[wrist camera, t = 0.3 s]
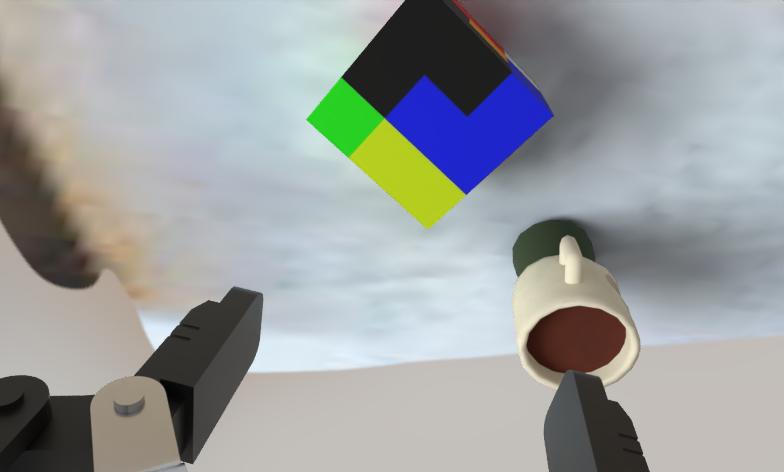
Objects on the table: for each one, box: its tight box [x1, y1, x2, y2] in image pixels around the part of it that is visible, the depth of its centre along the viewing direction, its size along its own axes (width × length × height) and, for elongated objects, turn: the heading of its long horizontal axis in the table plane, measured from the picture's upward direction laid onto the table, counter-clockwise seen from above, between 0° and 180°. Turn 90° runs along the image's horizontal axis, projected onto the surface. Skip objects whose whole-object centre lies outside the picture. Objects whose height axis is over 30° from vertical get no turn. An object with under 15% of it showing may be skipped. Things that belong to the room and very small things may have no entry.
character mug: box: [512, 220, 640, 390], centre depth 37 cm, size 11×7×13 cm, turn 7°
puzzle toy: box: [306, 0, 554, 229], centre depth 34 cm, size 10×10×10 cm
